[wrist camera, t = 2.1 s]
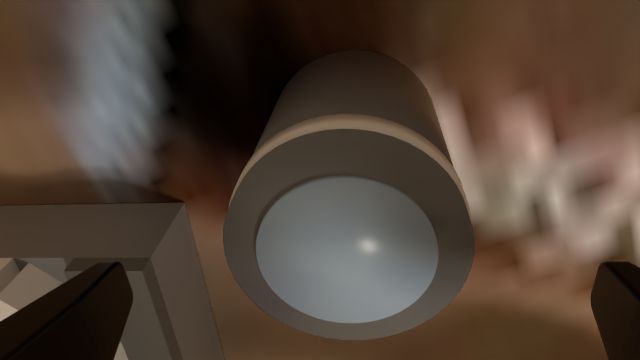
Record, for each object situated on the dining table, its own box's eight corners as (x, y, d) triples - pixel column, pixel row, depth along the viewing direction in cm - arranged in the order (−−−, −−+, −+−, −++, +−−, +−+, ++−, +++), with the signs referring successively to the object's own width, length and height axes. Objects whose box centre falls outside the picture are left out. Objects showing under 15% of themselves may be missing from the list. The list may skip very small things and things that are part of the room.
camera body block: (184, 202, 17) (128, 293, 13) (228, 374, 21) (196, 479, 17) (-121, 207, 18) (-257, 291, 14) (-19, 367, 22) (-101, 464, 18)
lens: (442, 43, 13) (492, 137, 8) (434, 199, 16) (467, 349, 10) (258, 52, 14) (190, 145, 8) (279, 201, 16) (235, 344, 11)
